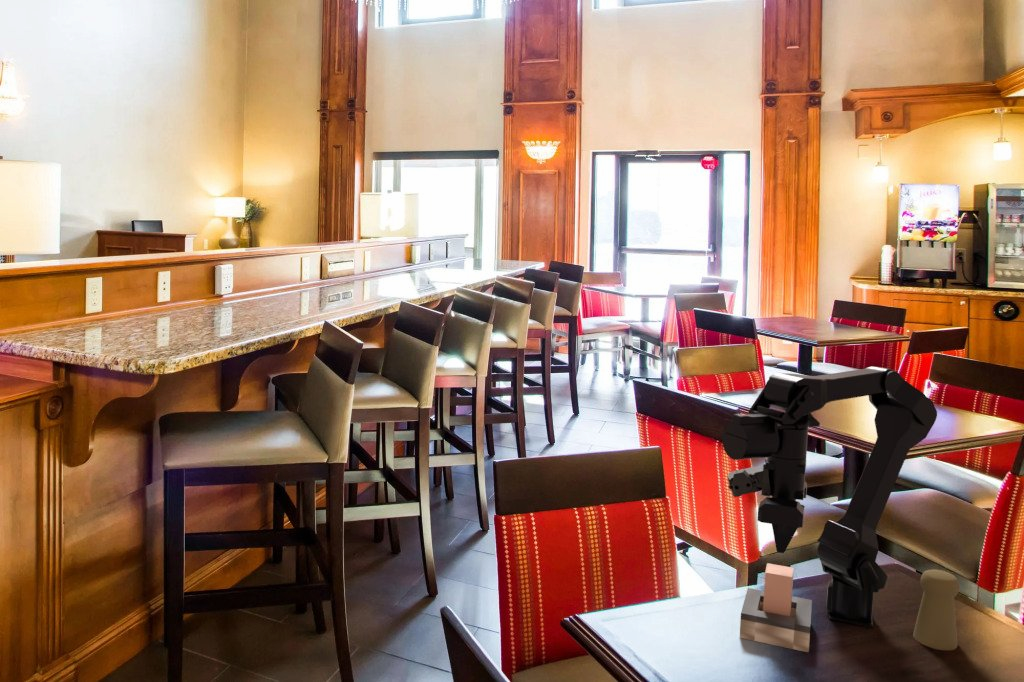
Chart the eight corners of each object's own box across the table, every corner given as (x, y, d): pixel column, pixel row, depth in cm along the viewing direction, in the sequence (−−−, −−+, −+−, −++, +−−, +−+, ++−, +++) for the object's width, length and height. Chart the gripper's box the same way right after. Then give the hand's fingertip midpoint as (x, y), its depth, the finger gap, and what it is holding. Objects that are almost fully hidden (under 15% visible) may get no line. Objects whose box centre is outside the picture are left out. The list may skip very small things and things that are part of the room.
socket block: (810, 623, 118) (812, 600, 117) (808, 652, 108) (810, 627, 108) (746, 610, 122) (747, 587, 121) (739, 637, 112) (740, 613, 112)
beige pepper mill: (964, 652, 109) (970, 583, 108) (920, 647, 111) (926, 578, 110) (948, 633, 115) (954, 567, 114) (907, 628, 117) (912, 563, 115)
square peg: (789, 627, 116) (793, 567, 115) (788, 638, 112) (792, 577, 111) (763, 622, 118) (767, 563, 117) (761, 633, 114) (765, 572, 113)
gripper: (739, 437, 124) (734, 525, 125) (725, 462, 107) (719, 563, 108) (809, 444, 119) (803, 535, 121) (805, 472, 102) (799, 577, 104)
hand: (780, 551), depth 114 cm, fingers closed
